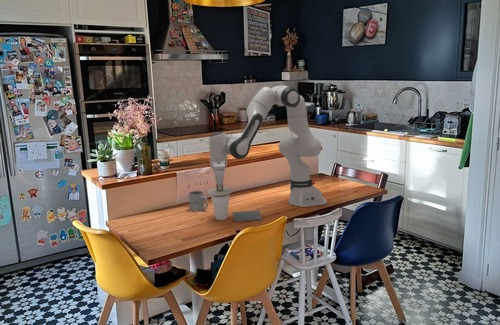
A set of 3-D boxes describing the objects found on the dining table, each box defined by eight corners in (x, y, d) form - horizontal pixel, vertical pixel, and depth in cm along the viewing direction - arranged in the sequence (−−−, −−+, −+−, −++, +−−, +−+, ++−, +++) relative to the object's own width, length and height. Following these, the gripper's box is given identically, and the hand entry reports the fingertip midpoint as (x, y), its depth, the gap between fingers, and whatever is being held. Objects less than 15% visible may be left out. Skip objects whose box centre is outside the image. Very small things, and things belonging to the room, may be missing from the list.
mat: (259, 211, 241) (259, 210, 241) (262, 220, 226) (262, 218, 226) (232, 213, 240) (232, 212, 240) (234, 221, 225) (234, 220, 225)
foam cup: (227, 221, 226) (226, 197, 224) (210, 220, 228) (209, 197, 226) (231, 215, 236) (230, 192, 233) (215, 215, 237) (214, 192, 235)
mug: (186, 209, 249) (185, 193, 247) (198, 206, 255) (197, 190, 253) (200, 213, 241) (199, 196, 239) (211, 210, 247) (210, 193, 245)
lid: (231, 188, 236) (231, 180, 235) (232, 194, 223) (232, 186, 222) (207, 189, 235) (207, 181, 234) (207, 196, 222) (207, 187, 221)
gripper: (212, 159, 236) (213, 184, 239) (212, 167, 216) (214, 193, 219) (224, 159, 236) (225, 183, 239) (225, 166, 216) (226, 192, 219)
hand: (219, 188), depth 229 cm, fingers closed on lid, 4 cm apart
